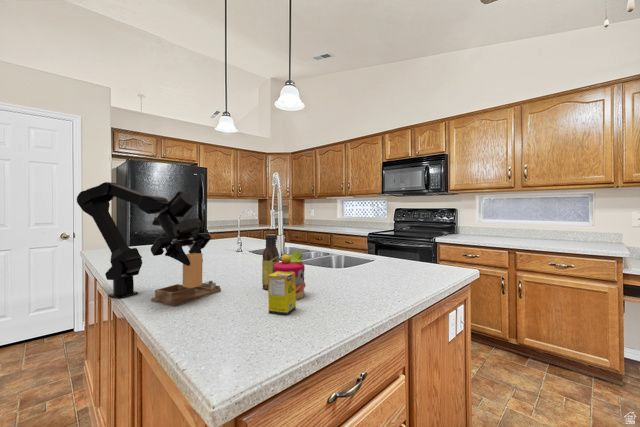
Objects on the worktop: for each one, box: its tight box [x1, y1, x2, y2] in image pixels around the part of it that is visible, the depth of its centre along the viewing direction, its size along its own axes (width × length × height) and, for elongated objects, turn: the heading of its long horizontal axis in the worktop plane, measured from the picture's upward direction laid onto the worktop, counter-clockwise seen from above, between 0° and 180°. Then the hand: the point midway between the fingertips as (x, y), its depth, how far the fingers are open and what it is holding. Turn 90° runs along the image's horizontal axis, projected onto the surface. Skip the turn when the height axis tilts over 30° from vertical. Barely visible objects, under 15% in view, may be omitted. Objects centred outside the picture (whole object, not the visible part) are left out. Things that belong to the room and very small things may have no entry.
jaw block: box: [182, 253, 203, 288], centre depth 95 cm, size 4×4×10 cm
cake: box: [274, 250, 306, 301], centre depth 101 cm, size 10×11×15 cm
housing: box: [150, 283, 222, 307], centre depth 103 cm, size 12×18×4 cm, turn 153°
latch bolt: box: [202, 280, 217, 290], centre depth 107 cm, size 4×2×3 cm, turn 63°
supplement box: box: [267, 271, 297, 316], centre depth 87 cm, size 6×6×11 cm
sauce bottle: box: [261, 233, 280, 290], centre depth 112 cm, size 7×6×20 cm
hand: (195, 263), depth 94 cm, fingers closed on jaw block, 4 cm apart
